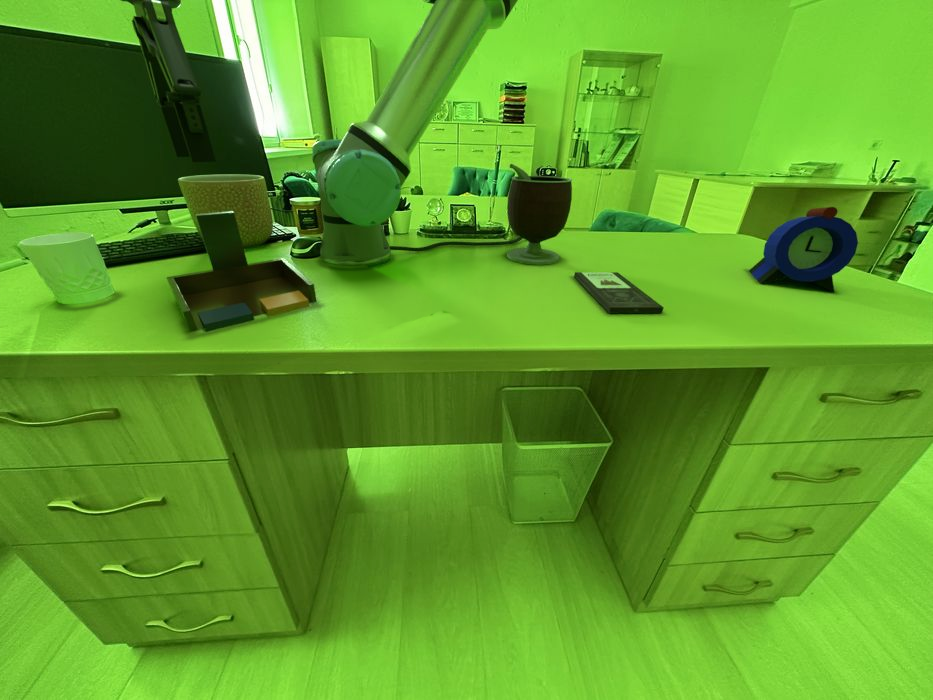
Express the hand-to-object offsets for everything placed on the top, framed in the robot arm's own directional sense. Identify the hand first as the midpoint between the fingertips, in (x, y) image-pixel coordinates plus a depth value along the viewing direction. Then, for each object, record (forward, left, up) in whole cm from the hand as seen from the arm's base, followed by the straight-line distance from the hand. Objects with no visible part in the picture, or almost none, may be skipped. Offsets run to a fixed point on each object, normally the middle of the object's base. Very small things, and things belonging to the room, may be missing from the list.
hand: (195, 159), depth 54 cm
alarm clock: (-90, +61, -21) cm, 111 cm away
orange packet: (-4, +14, -20) cm, 24 cm away
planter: (-9, -34, -21) cm, 41 cm away
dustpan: (0, +8, -20) cm, 22 cm away
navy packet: (+4, +14, -20) cm, 24 cm away
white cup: (+19, -10, -21) cm, 30 cm away
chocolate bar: (-53, +42, -21) cm, 71 cm away
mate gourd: (-59, +17, -21) cm, 65 cm away
